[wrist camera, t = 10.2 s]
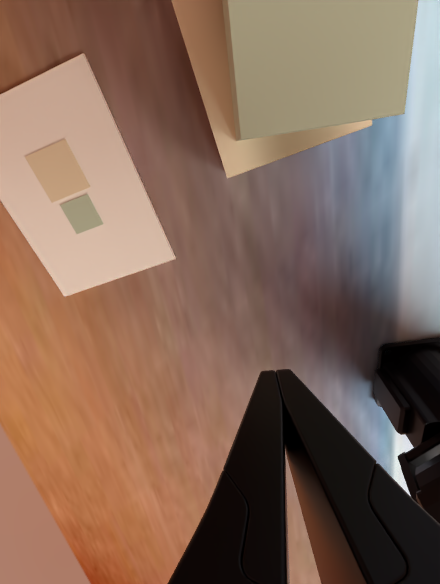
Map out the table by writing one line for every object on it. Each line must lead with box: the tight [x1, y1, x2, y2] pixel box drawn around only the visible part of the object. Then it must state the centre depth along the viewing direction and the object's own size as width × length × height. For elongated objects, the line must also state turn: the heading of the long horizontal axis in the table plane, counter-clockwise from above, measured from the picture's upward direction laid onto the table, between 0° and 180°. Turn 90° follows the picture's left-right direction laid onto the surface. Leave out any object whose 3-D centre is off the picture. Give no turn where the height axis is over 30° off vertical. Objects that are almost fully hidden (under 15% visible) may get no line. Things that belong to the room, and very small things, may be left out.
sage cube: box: [222, 0, 418, 141], centre depth 10 cm, size 5×5×5 cm
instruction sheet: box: [0, 53, 176, 297], centre depth 18 cm, size 9×12×1 cm
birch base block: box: [171, 0, 372, 178], centre depth 14 cm, size 7×7×4 cm
